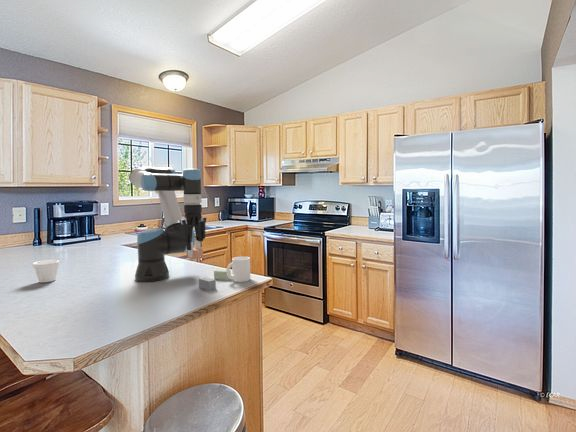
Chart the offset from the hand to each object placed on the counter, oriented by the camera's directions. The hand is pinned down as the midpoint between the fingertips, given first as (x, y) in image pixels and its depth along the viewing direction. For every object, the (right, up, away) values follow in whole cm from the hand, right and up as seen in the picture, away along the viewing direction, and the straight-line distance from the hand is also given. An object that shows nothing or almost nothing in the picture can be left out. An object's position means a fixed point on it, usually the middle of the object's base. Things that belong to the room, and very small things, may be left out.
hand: (194, 256), depth 143 cm
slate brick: (+7, -13, -6) cm, 16 cm away
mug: (+19, -12, +4) cm, 23 cm away
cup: (-71, -13, +6) cm, 72 cm away
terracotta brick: (0, -1, 0) cm, 1 cm away
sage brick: (+11, -12, +8) cm, 18 cm away
